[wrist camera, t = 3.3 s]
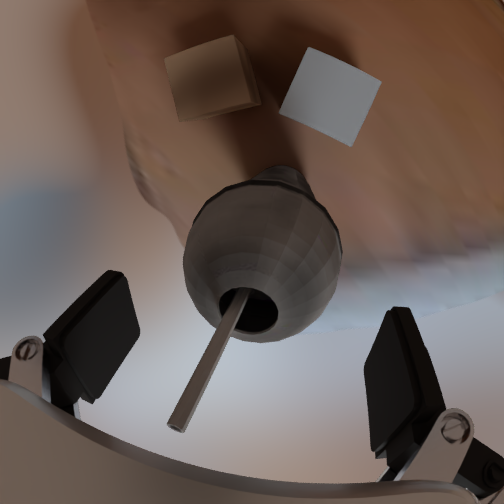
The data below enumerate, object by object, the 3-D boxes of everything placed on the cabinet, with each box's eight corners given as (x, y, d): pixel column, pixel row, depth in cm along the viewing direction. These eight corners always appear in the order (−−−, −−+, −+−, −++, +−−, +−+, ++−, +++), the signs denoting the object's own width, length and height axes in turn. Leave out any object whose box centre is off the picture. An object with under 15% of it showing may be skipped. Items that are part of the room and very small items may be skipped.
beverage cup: (337, 213, 23) (388, 459, 5) (262, 242, 25) (187, 468, 8) (303, 134, 20) (311, 248, 3) (224, 171, 23) (37, 340, 5)
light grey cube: (307, 61, 17) (308, 46, 13) (365, 88, 18) (381, 81, 13) (283, 114, 20) (278, 113, 16) (340, 140, 20) (351, 147, 16)
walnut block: (190, 67, 19) (163, 58, 15) (247, 50, 18) (233, 34, 13) (204, 119, 21) (179, 121, 17) (261, 104, 20) (250, 101, 15)
